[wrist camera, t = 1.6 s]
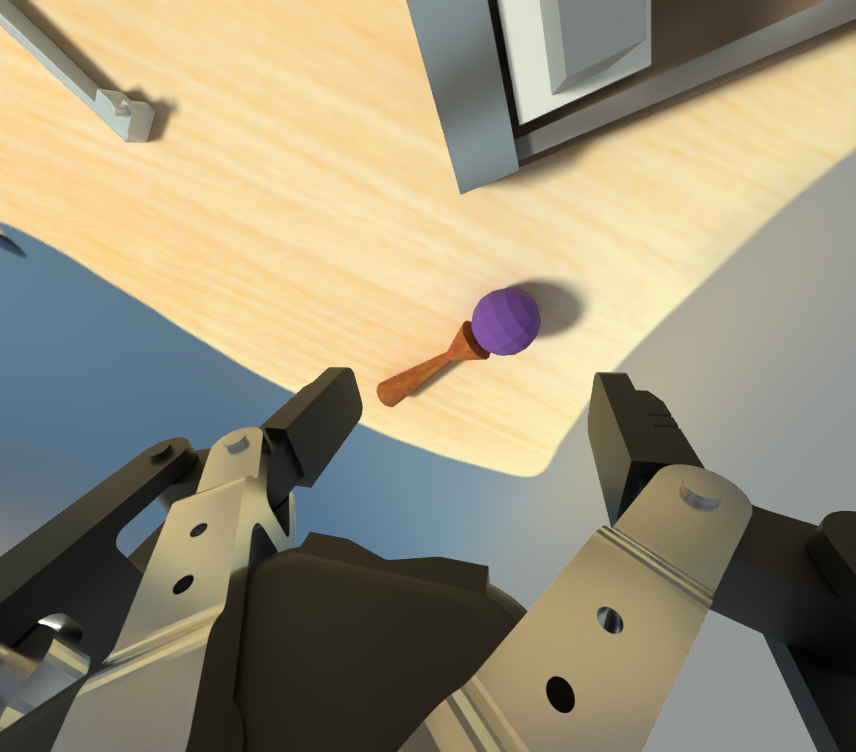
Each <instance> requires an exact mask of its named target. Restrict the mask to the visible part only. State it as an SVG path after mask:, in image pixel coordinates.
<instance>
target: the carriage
mask: <svg viewBox="0 0 856 752" xmlns="http://www.w3.org/2000/svg"><path fill="white" fill-rule="evenodd" d="M496 2H497V8H498V13H499V19H500V24H501V30H502V36H503V41H504V47H505V52H506V58H507V64H508V69H509V75H510V80H511V86H512V92H513V97H514V103H515V109H516V114H517V120H518V125H519V127H520V126H522V125H524V124H526V123H528V122H531V121H533V120H535V119H537V118H539V117H541V116H544V115H546V114H548V113H550V112H552V111H554V110H557V109H559V108H561V107H563V106H565V105H568V104H570V103H572V102H574V101H576V100H578V99H581V98H583V97H585V96H587V95H589V94H591V93H594V92H596V91H598V90H600V89H602V88H604V87H607V86H609V85H611V84H613V83H615V82H618V81H620V80H622V79H624V78H626V77H628V76H631V75H633V74H635V73H637V72H639V71H641V70H643V69H644V68H646V67H648V66H650V65H651V0H496Z"/></svg>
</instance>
